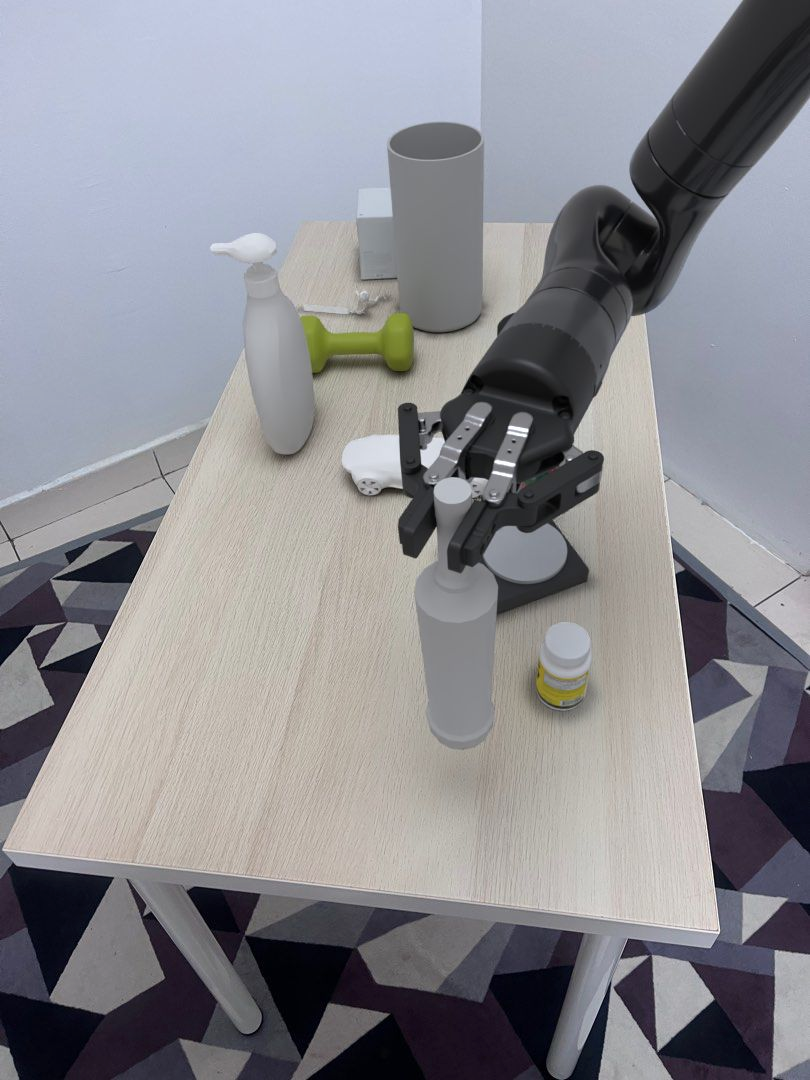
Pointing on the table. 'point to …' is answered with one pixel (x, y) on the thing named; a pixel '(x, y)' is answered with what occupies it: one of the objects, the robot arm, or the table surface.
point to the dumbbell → (362, 342)
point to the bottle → (457, 631)
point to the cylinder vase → (438, 222)
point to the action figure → (340, 310)
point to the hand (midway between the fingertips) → (431, 553)
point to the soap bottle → (273, 348)
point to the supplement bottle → (564, 666)
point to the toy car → (388, 463)
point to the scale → (532, 564)
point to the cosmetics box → (376, 233)
